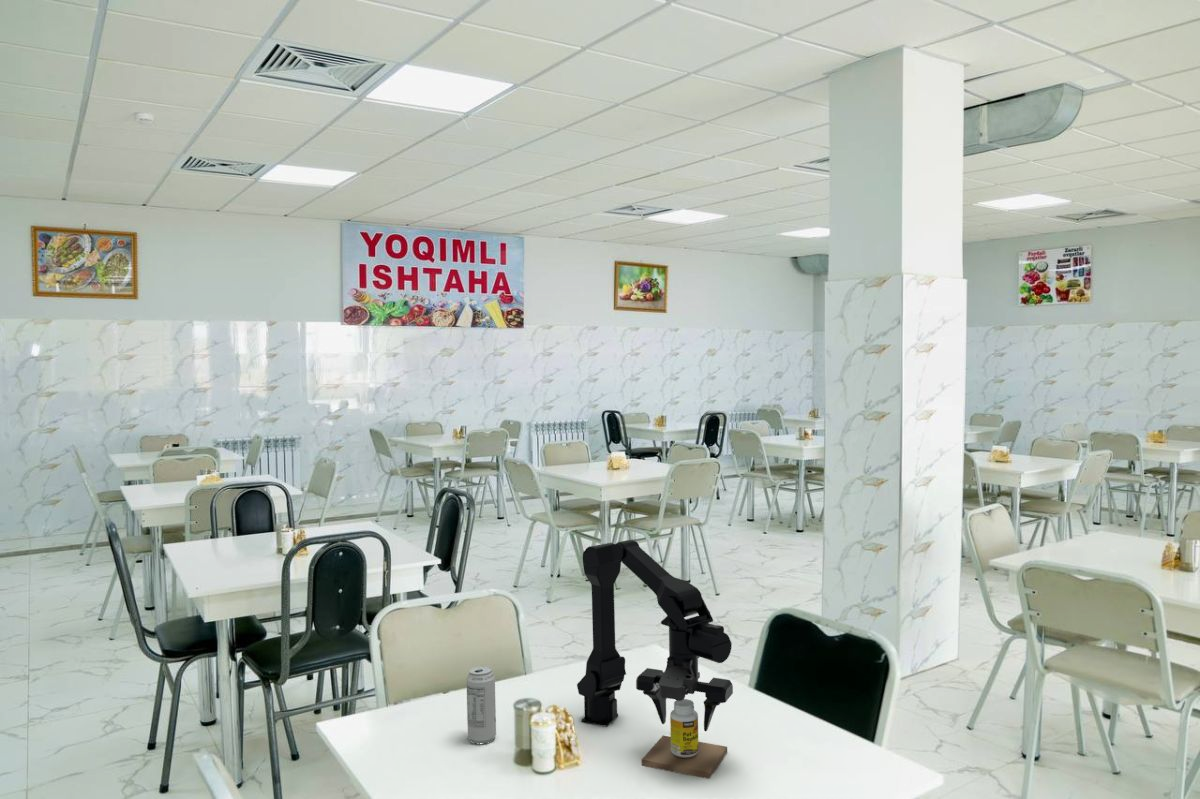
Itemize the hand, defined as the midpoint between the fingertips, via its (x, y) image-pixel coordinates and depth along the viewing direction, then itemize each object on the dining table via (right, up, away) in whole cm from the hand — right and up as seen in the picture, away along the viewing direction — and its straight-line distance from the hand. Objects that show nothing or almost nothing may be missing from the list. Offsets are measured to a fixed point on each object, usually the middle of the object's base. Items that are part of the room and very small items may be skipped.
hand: (684, 727), depth 170 cm
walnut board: (0, -7, 0) cm, 6 cm away
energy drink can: (-42, -7, +11) cm, 44 cm away
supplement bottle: (0, -5, 0) cm, 6 cm away
